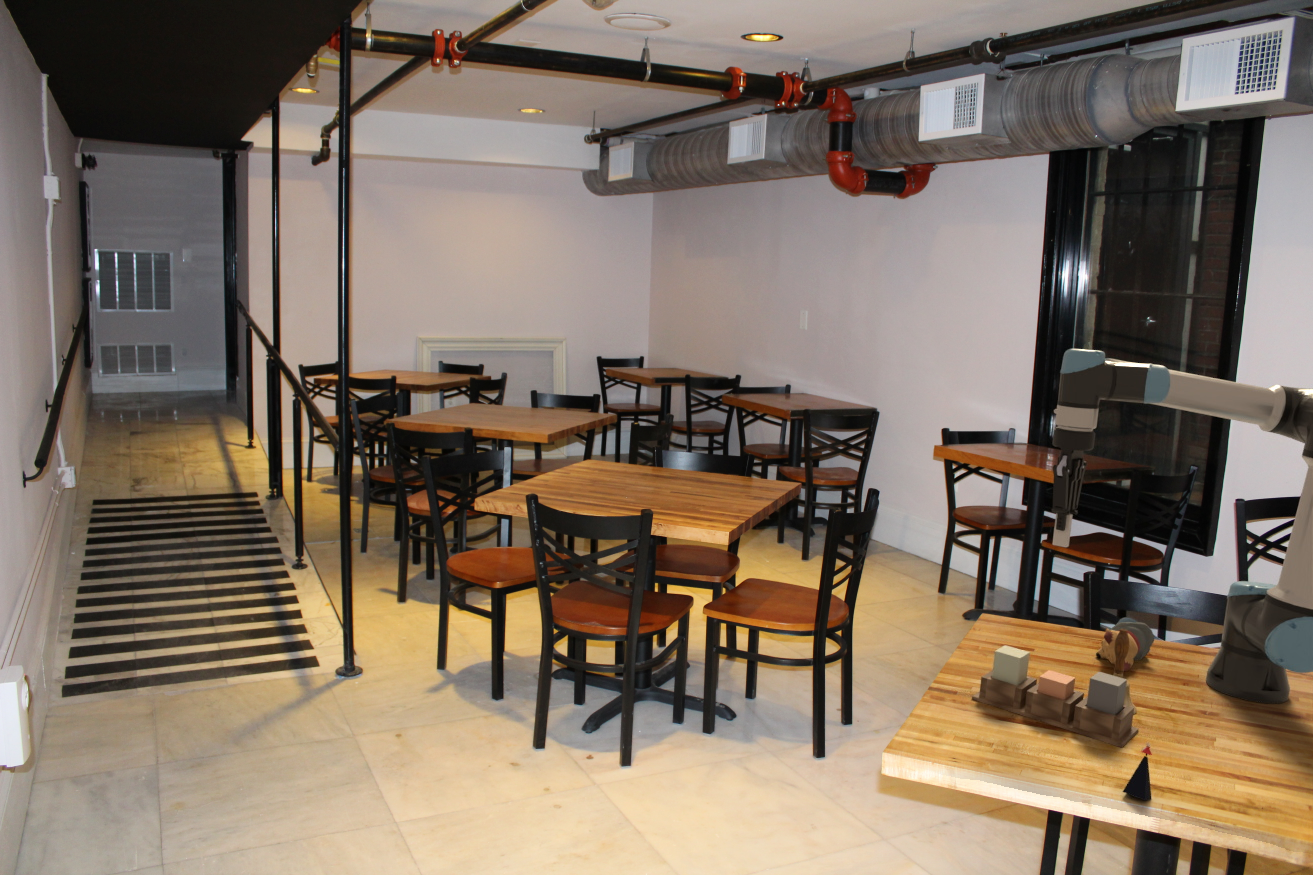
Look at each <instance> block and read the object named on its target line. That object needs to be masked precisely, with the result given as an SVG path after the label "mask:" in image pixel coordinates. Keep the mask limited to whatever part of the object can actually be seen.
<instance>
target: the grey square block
mask: <svg viewBox="0 0 1313 875" xmlns="http://www.w3.org/2000/svg"><path fill="white" fill-rule="evenodd" d="M1113 675H1114V674H1113ZM1113 675H1112V674H1110V673H1109V674H1108V673H1105V672H1101V671H1097V672H1096V673H1095V674H1094V675H1093V676H1091V677H1090V678H1089V686H1088V692H1087V696H1088V698H1087V706H1086V707H1089V708H1092V709H1096V710H1099V711H1102V712H1105V713H1109V714H1112V715H1115V716H1116V715H1118V714H1119V713H1120V712H1121V711H1122V710H1123V705H1124V698H1125V691H1126V683H1127V681H1128V679H1126V678H1124V677H1123V678H1120V677H1116V676H1113Z"/></svg>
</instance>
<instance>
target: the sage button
mask: <svg viewBox="0 0 1313 875" xmlns="http://www.w3.org/2000/svg"><path fill="white" fill-rule="evenodd" d="M1030 654H1031V652H1030V651H1027V650H1022V649H1020V648H1016V647H1013V646H1009V645H1002V646H1001V647H1000V648H997V649H996V650H995V651H994V655H993V656H994V657H993V663H992V664H993V665H992V670H993V672H992V678H994V679H997V680H1001V681H1004V682H1007V683H1010V684H1014V685H1017V686H1018V685H1020V684H1021V683H1023V682H1024V681H1026V680H1027V676H1028V671H1029V670H1028V669H1029V663H1030Z"/></svg>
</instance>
